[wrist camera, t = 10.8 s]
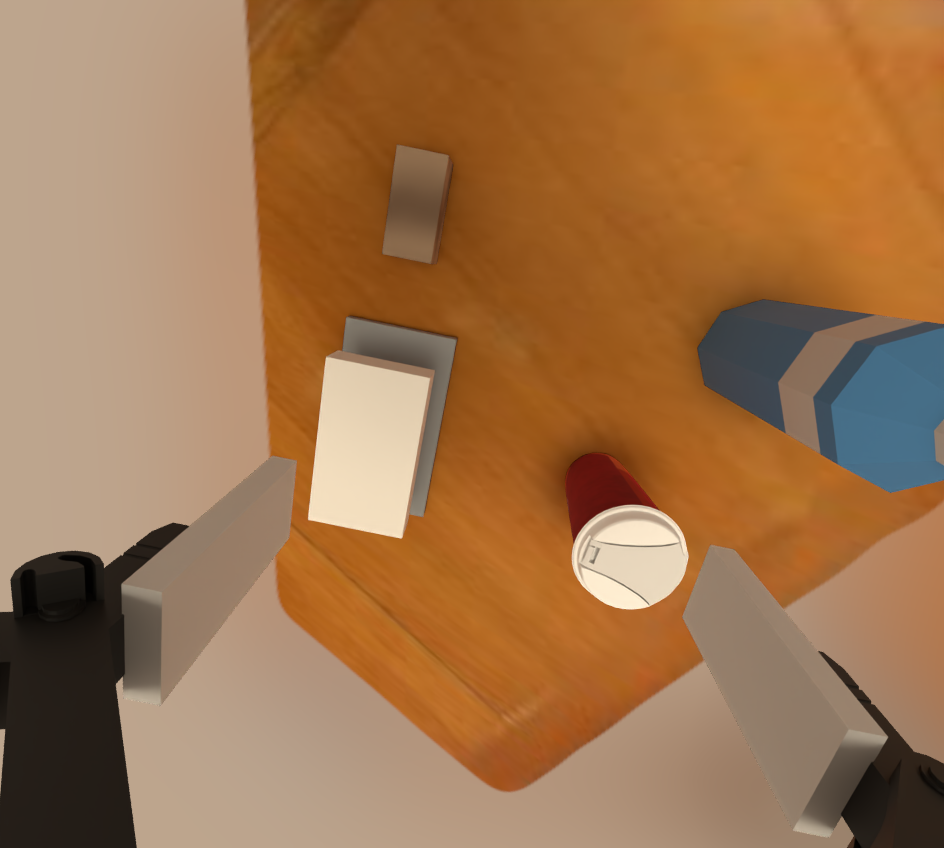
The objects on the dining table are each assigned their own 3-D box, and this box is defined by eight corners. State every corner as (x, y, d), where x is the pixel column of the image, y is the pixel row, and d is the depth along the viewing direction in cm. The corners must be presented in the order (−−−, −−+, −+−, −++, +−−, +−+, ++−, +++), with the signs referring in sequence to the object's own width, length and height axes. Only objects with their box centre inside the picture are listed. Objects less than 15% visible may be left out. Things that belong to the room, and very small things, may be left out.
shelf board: (337, 350, 41) (326, 356, 39) (434, 370, 42) (430, 378, 39) (319, 503, 46) (308, 519, 43) (408, 521, 46) (401, 538, 43)
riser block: (406, 155, 43) (396, 144, 39) (453, 165, 43) (448, 155, 39) (392, 254, 45) (382, 253, 41) (436, 263, 45) (430, 263, 41)
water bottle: (686, 397, 47) (874, 533, 24) (709, 294, 45) (948, 330, 21) (788, 407, 47) (1081, 554, 23) (817, 304, 44) (1185, 351, 21)
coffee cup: (542, 505, 51) (559, 599, 37) (569, 431, 49) (597, 500, 35) (621, 527, 52) (668, 628, 37) (652, 454, 49) (714, 533, 35)
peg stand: (350, 315, 47) (328, 323, 41) (457, 337, 47) (451, 348, 41) (328, 491, 52) (306, 521, 46) (424, 511, 52) (415, 542, 46)
